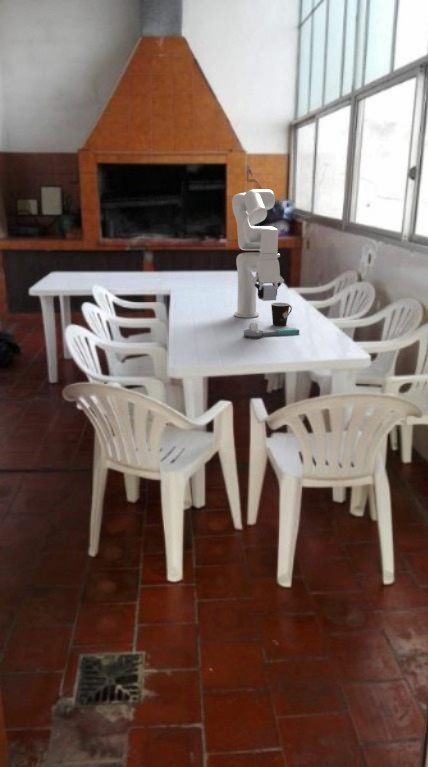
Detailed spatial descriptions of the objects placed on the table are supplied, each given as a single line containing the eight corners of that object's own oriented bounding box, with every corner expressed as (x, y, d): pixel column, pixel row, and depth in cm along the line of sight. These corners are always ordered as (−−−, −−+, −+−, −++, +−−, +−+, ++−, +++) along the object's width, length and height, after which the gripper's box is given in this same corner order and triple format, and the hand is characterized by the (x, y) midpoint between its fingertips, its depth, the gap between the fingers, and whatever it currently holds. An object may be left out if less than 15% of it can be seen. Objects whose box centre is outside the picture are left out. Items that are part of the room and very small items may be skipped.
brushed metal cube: (258, 298, 264) (258, 285, 262) (270, 297, 266) (271, 284, 264) (263, 300, 258) (264, 287, 257) (276, 300, 260) (276, 286, 258)
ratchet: (240, 334, 260) (241, 321, 258) (293, 331, 268) (294, 318, 266) (247, 339, 253) (247, 326, 251) (301, 335, 260) (302, 322, 258)
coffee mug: (274, 327, 275) (275, 306, 272) (267, 323, 283) (268, 303, 280) (297, 326, 278) (298, 305, 275) (290, 322, 286) (291, 301, 282)
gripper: (283, 255, 262) (281, 295, 268) (247, 256, 257) (246, 297, 263) (290, 257, 255) (288, 298, 261) (253, 258, 250) (252, 300, 256)
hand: (267, 297), depth 262 cm, fingers closed on brushed metal cube, 6 cm apart
